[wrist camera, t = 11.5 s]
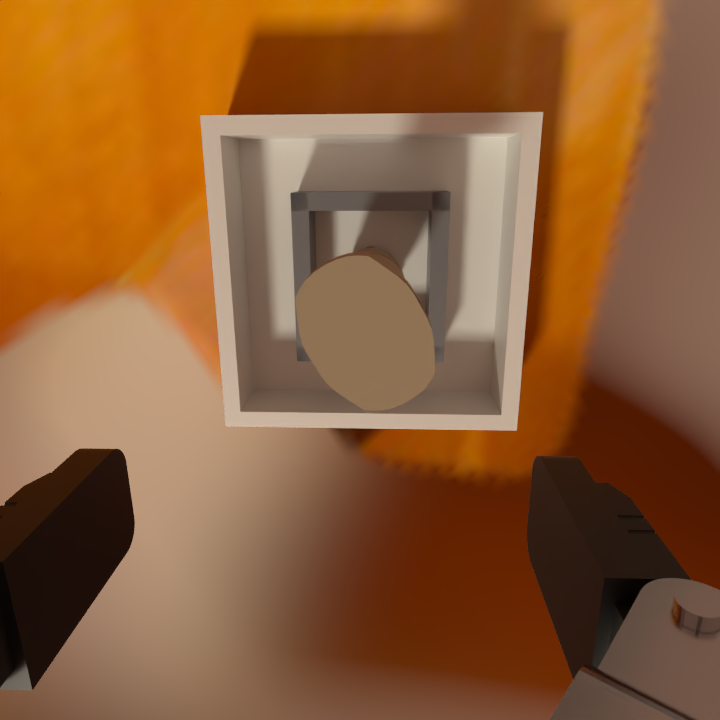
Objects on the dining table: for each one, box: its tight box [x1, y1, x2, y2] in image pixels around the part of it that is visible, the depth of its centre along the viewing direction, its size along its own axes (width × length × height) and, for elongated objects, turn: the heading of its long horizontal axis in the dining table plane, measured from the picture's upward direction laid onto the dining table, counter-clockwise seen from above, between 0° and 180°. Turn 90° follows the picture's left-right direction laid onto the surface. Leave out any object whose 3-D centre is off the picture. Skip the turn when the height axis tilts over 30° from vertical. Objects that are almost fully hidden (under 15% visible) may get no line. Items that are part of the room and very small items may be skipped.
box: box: [200, 112, 543, 430], centre depth 36 cm, size 18×18×5 cm
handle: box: [295, 246, 435, 411], centre depth 30 cm, size 5×6×15 cm
